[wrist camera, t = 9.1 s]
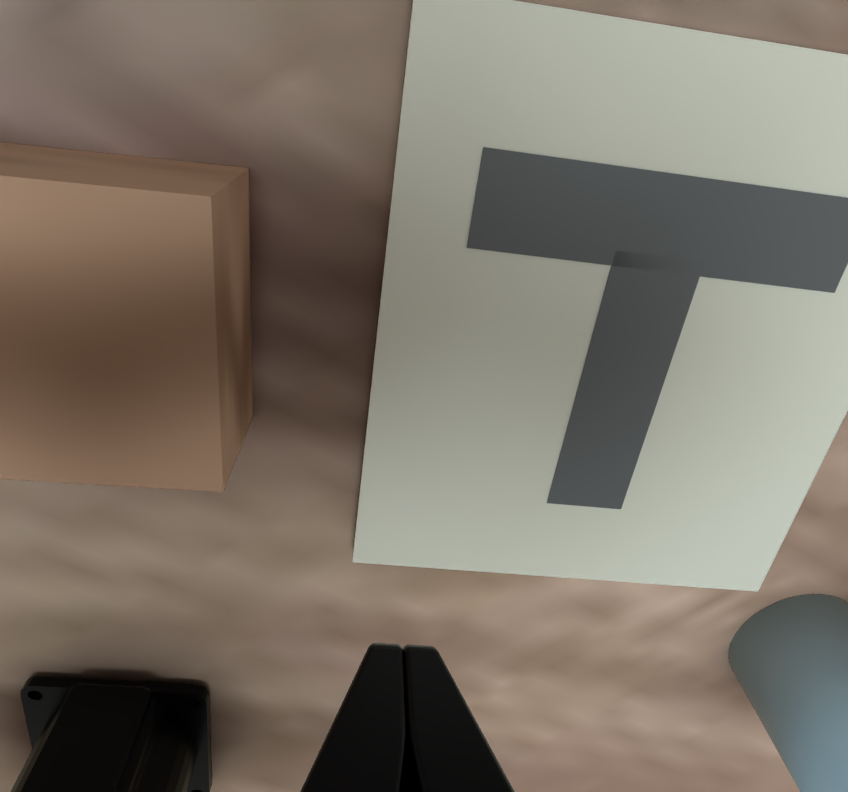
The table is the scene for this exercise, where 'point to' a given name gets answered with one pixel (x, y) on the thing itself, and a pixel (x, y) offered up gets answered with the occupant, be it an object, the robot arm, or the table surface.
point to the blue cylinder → (800, 684)
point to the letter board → (606, 298)
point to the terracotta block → (123, 319)
